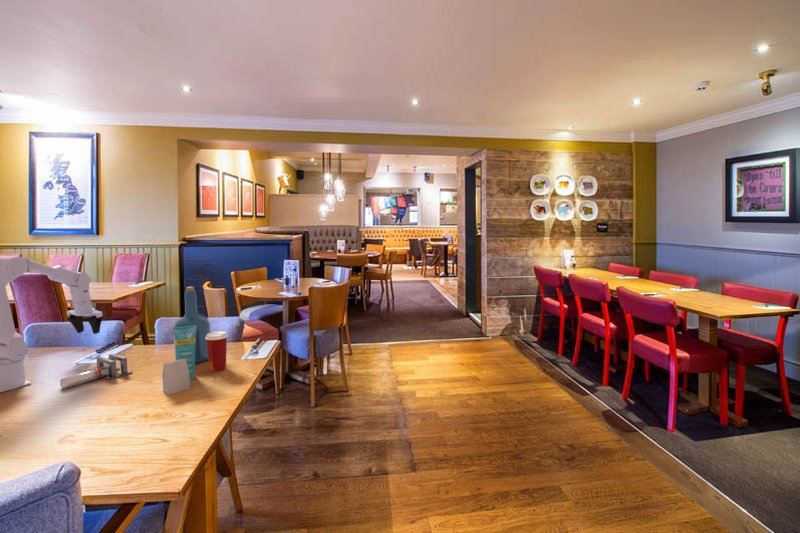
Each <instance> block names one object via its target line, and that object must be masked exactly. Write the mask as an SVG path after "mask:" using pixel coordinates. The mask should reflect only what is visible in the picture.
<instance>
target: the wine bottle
mask: <svg viewBox="0 0 800 533" xmlns="http://www.w3.org/2000/svg"><path fill="white" fill-rule="evenodd" d="M196 292H197V291H196V290H195V287H194V286H187V287H186V290H185V291H184V298H183V299H184V303H185V304H184V305H185V307H184V308H185V309H184V311H185V314H184V316H182V317H181V318H179V319H178V320H176V321H175V322H174V324H173V328H176V327H186V326H193V325H197V329H196V342H195V364H200V363H202V362H206V361H207V360H208V351H207V342H206V339H205V337H206V335H207V334H208V333H211V323H210V322H209V319H208V317H207V316H205V315H204V314H202V313H199V312H198V304H197V298H198V297H197V293H196ZM173 342H174V357H175V358H174V359H175V361H177V351H176V344H175V338H174V337H173ZM208 361H209V360H208Z"/></svg>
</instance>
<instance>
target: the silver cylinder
mask: <svg viewBox="0 0 800 533" xmlns="http://www.w3.org/2000/svg"><path fill="white" fill-rule="evenodd" d="M108 376H109V370H108V365H104V367H101V368H98V369H97V368H95V369H94V368H93V369H91V370H89V371H84V372H80V373H77V374H74V375H71V376H67V377H63V378H60V380H59V386H60V387H61V389H62V390H65V389H69V388H72V387H77V386H79V385H81V384H82V385H83V384H86V383H89V382H91V381H96V380H98V379H101V378H105V377H108Z"/></svg>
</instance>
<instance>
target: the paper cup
mask: <svg viewBox="0 0 800 533" xmlns="http://www.w3.org/2000/svg"><path fill="white" fill-rule="evenodd" d="M205 339H206V342H207V351H208V366H209V371H210V372H211V371H213V372H212V373H218V372H217V371H220V372H223V371H225V370H226V369H227V368H226V367H227V346H228V344H227V343H228V342H227V339H228V334H227V331H221V330H220V331H213V332H211V331H210V333H208V334H207V335H206V337H205ZM225 368H226V369H225ZM224 369H225V370H224ZM222 370H223V371H222Z"/></svg>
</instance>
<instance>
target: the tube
mask: <svg viewBox="0 0 800 533" xmlns="http://www.w3.org/2000/svg"><path fill="white" fill-rule="evenodd" d="M196 329H197V325H193V326H186V327H176V328H174V327H172V333H173V339H174V338H175V344H176V351H177V360H181V359H186V362H187V366H188V370H189V381H191V380H193V379H195V376H196V374H195V372H196V365H195V364H196V363H195V342H196Z"/></svg>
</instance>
